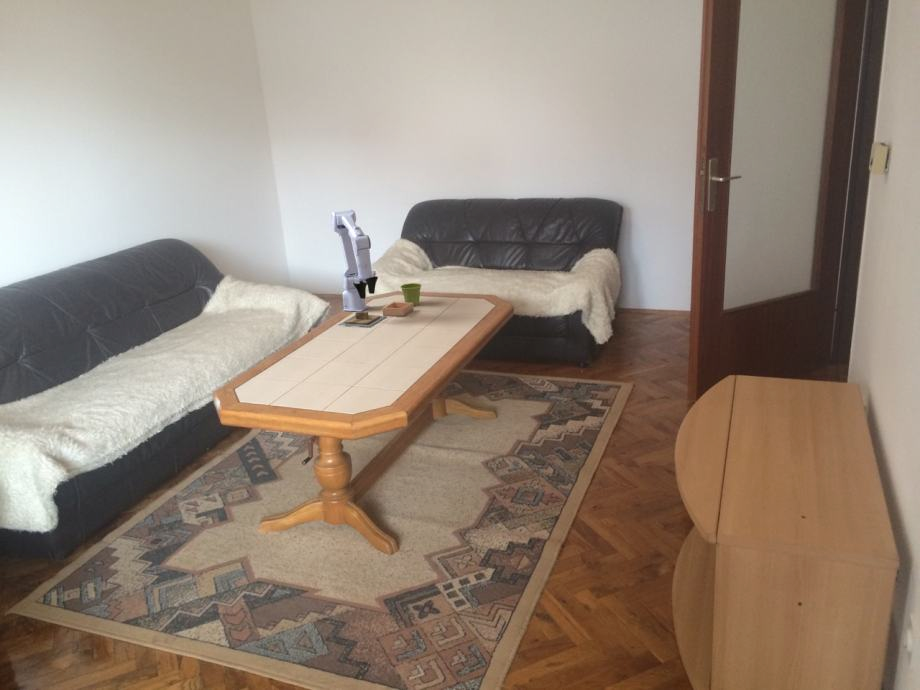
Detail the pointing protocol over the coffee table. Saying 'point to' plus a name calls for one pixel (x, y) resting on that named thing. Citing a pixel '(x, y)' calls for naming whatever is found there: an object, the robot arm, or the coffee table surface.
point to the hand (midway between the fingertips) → (367, 295)
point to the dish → (398, 309)
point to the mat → (364, 325)
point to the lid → (362, 318)
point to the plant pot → (411, 293)
